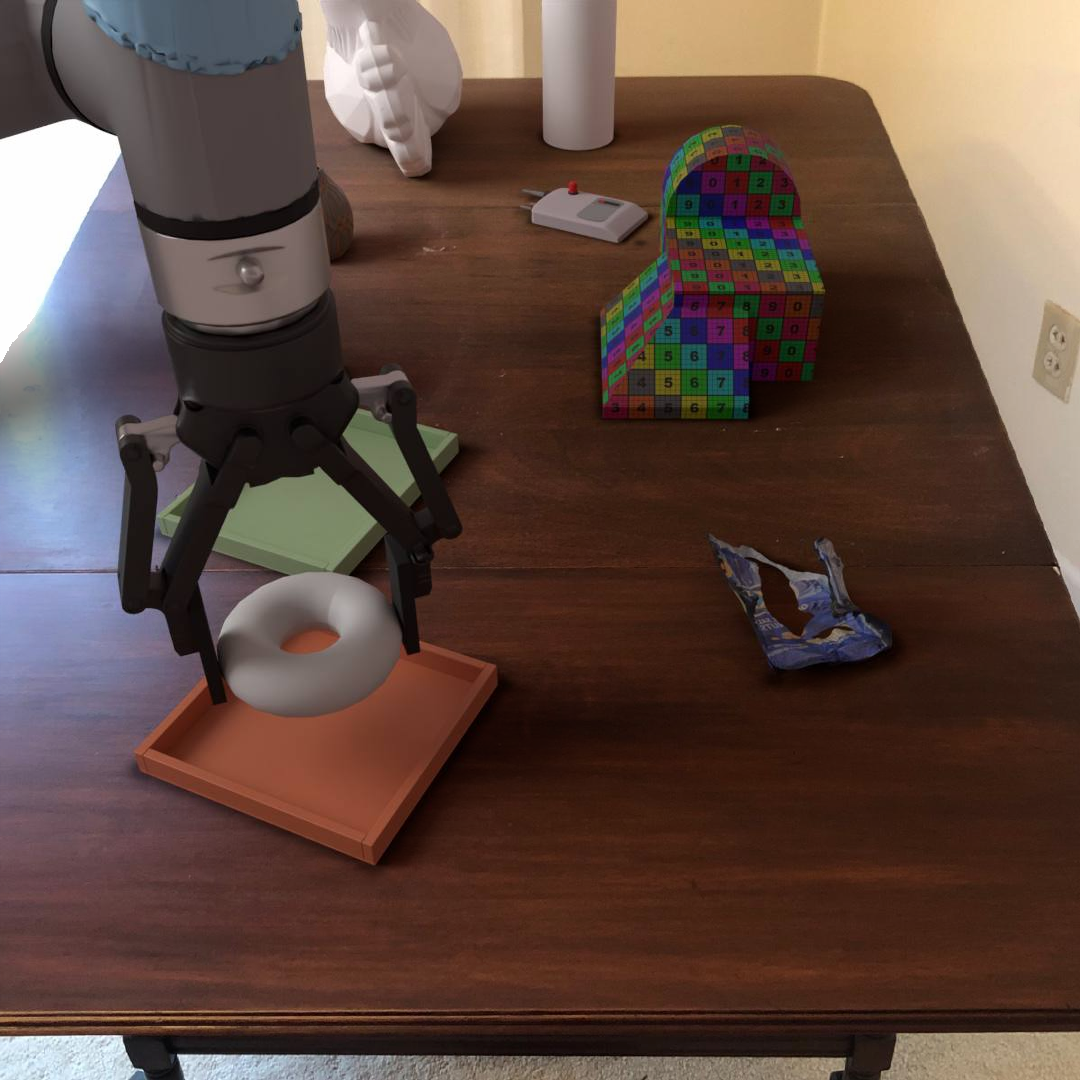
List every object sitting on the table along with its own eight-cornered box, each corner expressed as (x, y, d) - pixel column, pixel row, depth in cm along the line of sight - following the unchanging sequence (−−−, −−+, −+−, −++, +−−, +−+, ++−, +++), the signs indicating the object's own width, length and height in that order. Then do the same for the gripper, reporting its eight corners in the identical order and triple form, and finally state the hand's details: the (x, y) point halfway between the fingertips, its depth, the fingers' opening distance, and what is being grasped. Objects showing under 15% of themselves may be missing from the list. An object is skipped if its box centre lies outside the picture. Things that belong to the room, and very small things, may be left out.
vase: (270, 259, 118) (256, 172, 112) (319, 233, 122) (307, 148, 117) (323, 278, 115) (311, 188, 109) (371, 250, 119) (362, 163, 114)
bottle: (618, 130, 143) (627, -162, 124) (606, 156, 137) (613, -147, 118) (551, 125, 144) (550, -164, 126) (535, 150, 138) (531, -149, 120)
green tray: (162, 538, 85) (156, 515, 83) (301, 413, 97) (297, 392, 95) (336, 594, 80) (332, 571, 79) (459, 455, 92) (458, 433, 91)
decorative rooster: (340, 47, 147) (253, -103, 123) (467, 22, 144) (403, -136, 120) (347, 236, 141) (257, 117, 117) (480, 214, 138) (414, 87, 114)
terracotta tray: (141, 775, 68) (133, 751, 67) (285, 618, 78) (281, 594, 77) (375, 870, 63) (371, 846, 62) (498, 689, 73) (497, 665, 72)
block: (598, 274, 115) (601, 125, 106) (780, 274, 114) (798, 124, 105) (603, 422, 95) (607, 254, 86) (821, 422, 95) (848, 254, 86)
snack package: (873, 564, 82) (699, 550, 83) (895, 499, 77) (709, 485, 78) (888, 716, 74) (695, 698, 75) (913, 653, 69) (706, 636, 70)
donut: (194, 721, 64) (377, 742, 63) (180, 675, 62) (369, 695, 61) (260, 597, 72) (425, 612, 70) (250, 551, 70) (419, 566, 68)
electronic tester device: (635, 250, 118) (636, 221, 116) (497, 218, 125) (496, 190, 123) (664, 225, 123) (666, 196, 121) (530, 194, 129) (529, 167, 127)
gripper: (-28, 388, 47) (108, 767, 61) (519, 288, 53) (529, 655, 67) (-28, 303, 53) (97, 668, 67) (468, 220, 59) (487, 572, 73)
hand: (313, 661), depth 67 cm, fingers closed on donut, 10 cm apart
